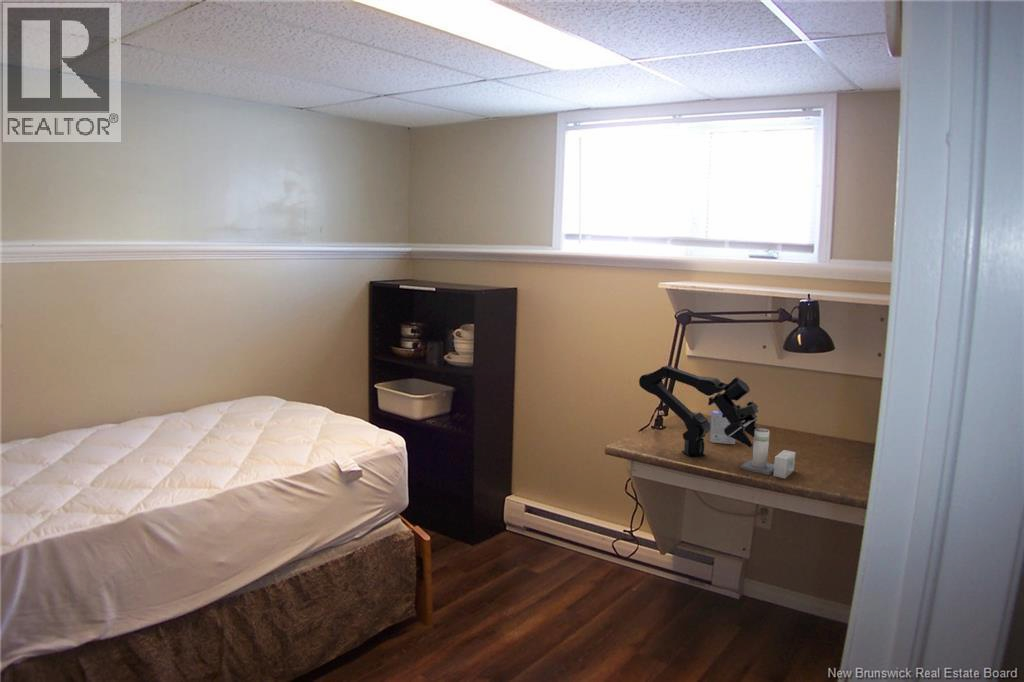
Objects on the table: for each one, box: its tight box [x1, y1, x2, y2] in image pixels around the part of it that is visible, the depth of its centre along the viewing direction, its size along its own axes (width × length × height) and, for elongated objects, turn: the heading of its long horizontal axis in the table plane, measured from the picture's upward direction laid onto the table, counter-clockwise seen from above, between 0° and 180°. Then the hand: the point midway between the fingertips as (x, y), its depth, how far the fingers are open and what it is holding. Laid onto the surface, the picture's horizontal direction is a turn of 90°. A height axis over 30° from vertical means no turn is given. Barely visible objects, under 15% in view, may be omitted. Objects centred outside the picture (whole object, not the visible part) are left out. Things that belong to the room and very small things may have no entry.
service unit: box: [773, 449, 796, 479], centre depth 249 cm, size 4×10×7 cm, turn 143°
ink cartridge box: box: [709, 409, 736, 445], centre depth 285 cm, size 10×6×14 cm, turn 78°
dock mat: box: [740, 459, 774, 476], centre depth 254 cm, size 10×10×1 cm
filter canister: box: [751, 428, 770, 468], centre depth 253 cm, size 5×5×13 cm
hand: (755, 443), depth 254 cm, fingers open, 9 cm apart
